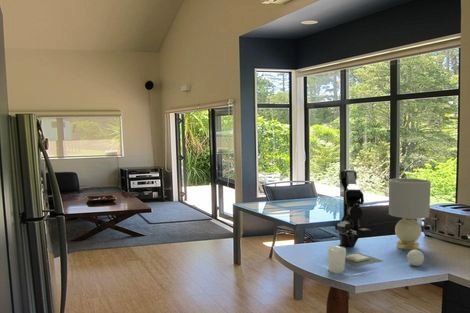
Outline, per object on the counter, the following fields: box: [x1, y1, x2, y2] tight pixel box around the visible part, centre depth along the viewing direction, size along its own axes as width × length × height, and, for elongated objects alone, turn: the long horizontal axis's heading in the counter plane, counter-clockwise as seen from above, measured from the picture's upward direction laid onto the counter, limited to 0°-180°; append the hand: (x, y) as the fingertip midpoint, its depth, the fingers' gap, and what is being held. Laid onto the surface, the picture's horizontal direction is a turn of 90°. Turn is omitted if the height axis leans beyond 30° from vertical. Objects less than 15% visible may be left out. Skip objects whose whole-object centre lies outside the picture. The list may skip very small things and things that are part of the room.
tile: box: [346, 253, 370, 262], centre depth 227 cm, size 1×8×8 cm
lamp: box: [388, 177, 432, 251], centre depth 251 cm, size 20×20×35 cm
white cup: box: [327, 245, 347, 274], centre depth 210 cm, size 8×8×10 cm
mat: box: [345, 252, 384, 267], centre depth 227 cm, size 16×18×1 cm
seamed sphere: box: [406, 249, 425, 267], centre depth 219 cm, size 10×7×7 cm
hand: (352, 247), depth 230 cm, fingers closed
